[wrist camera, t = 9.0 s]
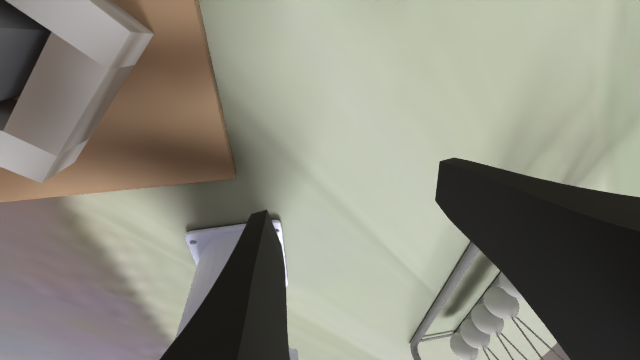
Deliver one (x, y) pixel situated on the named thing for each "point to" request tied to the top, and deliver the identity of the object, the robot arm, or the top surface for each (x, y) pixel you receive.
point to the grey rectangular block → (18, 49)
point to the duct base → (114, 102)
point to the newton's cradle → (476, 315)
